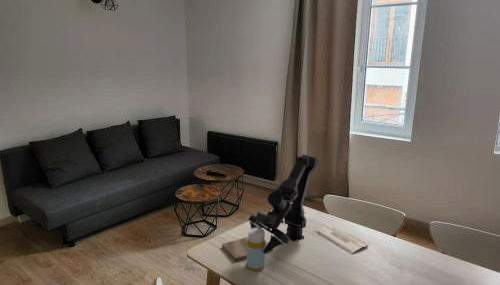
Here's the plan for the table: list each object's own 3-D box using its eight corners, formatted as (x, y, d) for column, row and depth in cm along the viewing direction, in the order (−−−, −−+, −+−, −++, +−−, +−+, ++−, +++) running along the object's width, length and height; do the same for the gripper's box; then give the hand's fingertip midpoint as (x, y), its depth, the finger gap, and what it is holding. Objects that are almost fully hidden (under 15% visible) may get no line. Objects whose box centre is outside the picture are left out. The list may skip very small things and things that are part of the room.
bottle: (262, 272, 132) (264, 237, 128) (244, 269, 133) (245, 235, 129) (265, 261, 138) (267, 228, 134) (248, 259, 139) (249, 226, 136)
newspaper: (370, 247, 152) (370, 242, 151) (351, 258, 146) (351, 252, 145) (332, 225, 170) (332, 220, 169) (313, 233, 164) (313, 229, 163)
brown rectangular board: (258, 237, 156) (258, 234, 156) (272, 250, 146) (272, 247, 146) (222, 246, 148) (222, 243, 147) (234, 261, 138) (234, 258, 137)
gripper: (252, 196, 139) (230, 229, 135) (285, 213, 125) (261, 250, 121) (266, 209, 146) (245, 240, 142) (298, 226, 132) (276, 262, 128)
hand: (255, 247), depth 133 cm, fingers open, 9 cm apart
